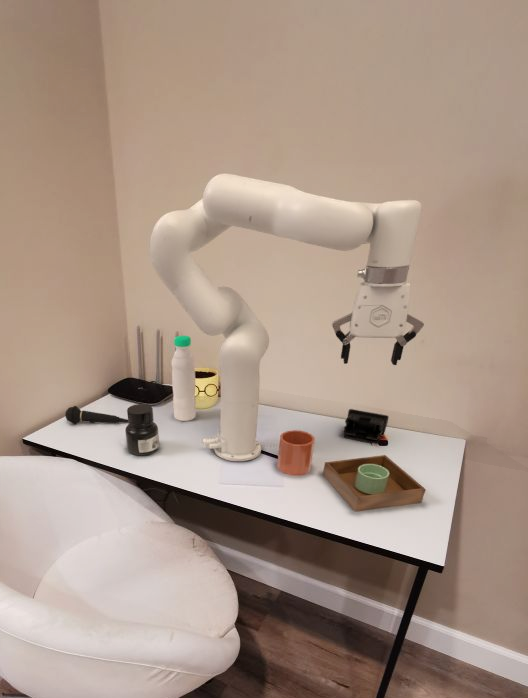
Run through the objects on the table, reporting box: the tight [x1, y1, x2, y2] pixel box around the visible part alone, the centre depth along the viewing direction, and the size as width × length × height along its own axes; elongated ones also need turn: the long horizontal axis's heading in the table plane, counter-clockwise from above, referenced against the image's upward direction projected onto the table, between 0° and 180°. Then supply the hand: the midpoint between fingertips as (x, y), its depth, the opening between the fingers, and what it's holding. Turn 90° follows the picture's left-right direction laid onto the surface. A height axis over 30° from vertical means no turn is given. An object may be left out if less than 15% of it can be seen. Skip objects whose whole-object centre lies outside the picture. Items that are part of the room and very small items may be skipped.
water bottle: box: [170, 335, 197, 422], centre depth 130 cm, size 7×7×25 cm
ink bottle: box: [125, 403, 160, 456], centre depth 117 cm, size 10×9×12 cm
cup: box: [276, 429, 316, 477], centre depth 105 cm, size 8×8×8 cm
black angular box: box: [342, 408, 389, 445], centre depth 118 cm, size 10×7×7 cm
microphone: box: [64, 405, 129, 425], centre depth 135 cm, size 6×6×20 cm
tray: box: [322, 454, 426, 513], centre depth 98 cm, size 15×15×4 cm
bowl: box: [355, 464, 389, 495], centre depth 97 cm, size 6×6×4 cm
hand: (369, 362), depth 93 cm, fingers open, 9 cm apart
